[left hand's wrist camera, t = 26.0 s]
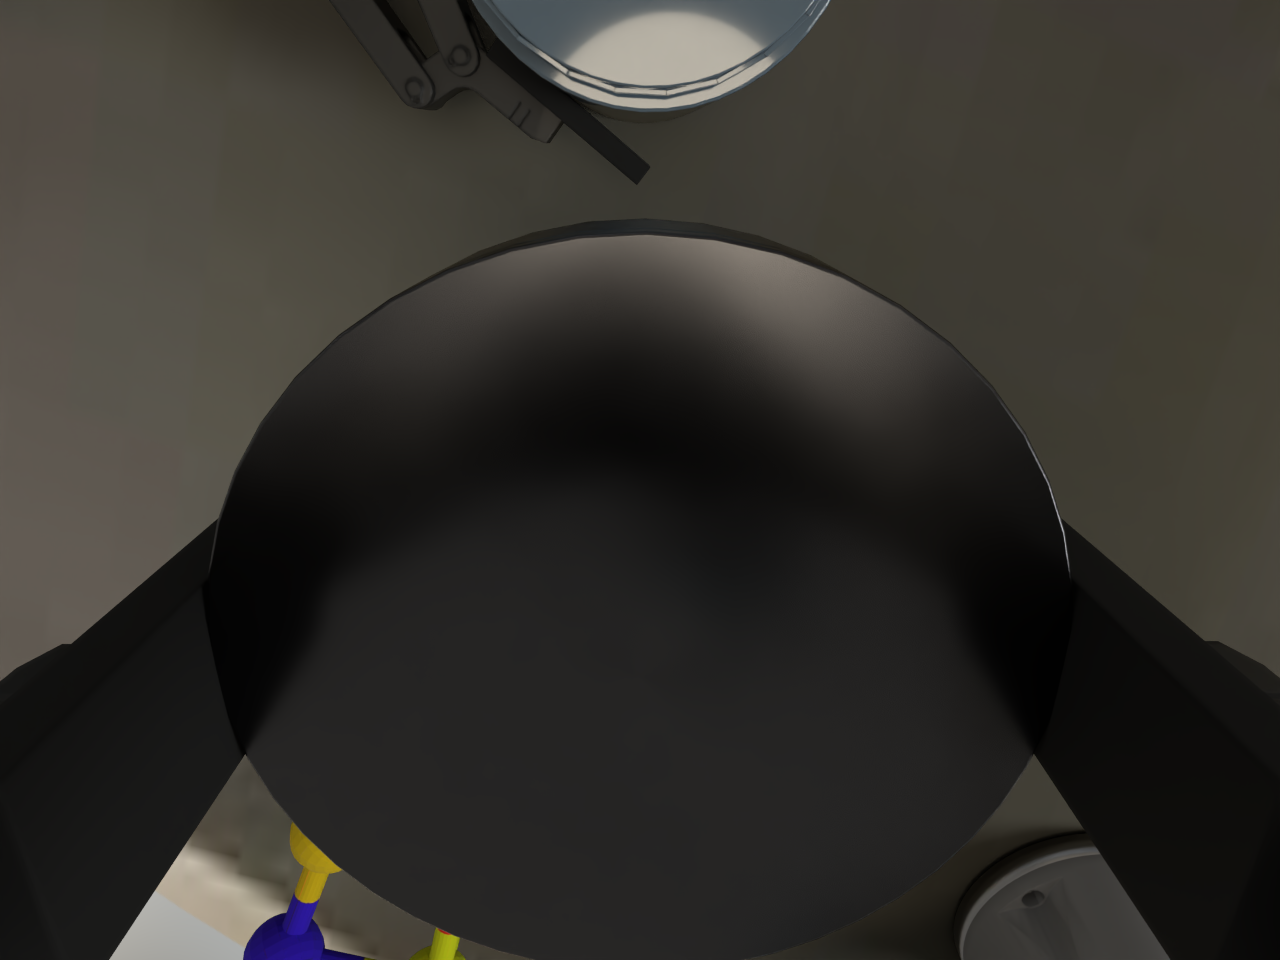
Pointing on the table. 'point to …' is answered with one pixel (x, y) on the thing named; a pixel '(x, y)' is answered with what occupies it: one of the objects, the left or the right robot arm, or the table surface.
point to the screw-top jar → (650, 48)
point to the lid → (639, 597)
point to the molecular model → (292, 942)
